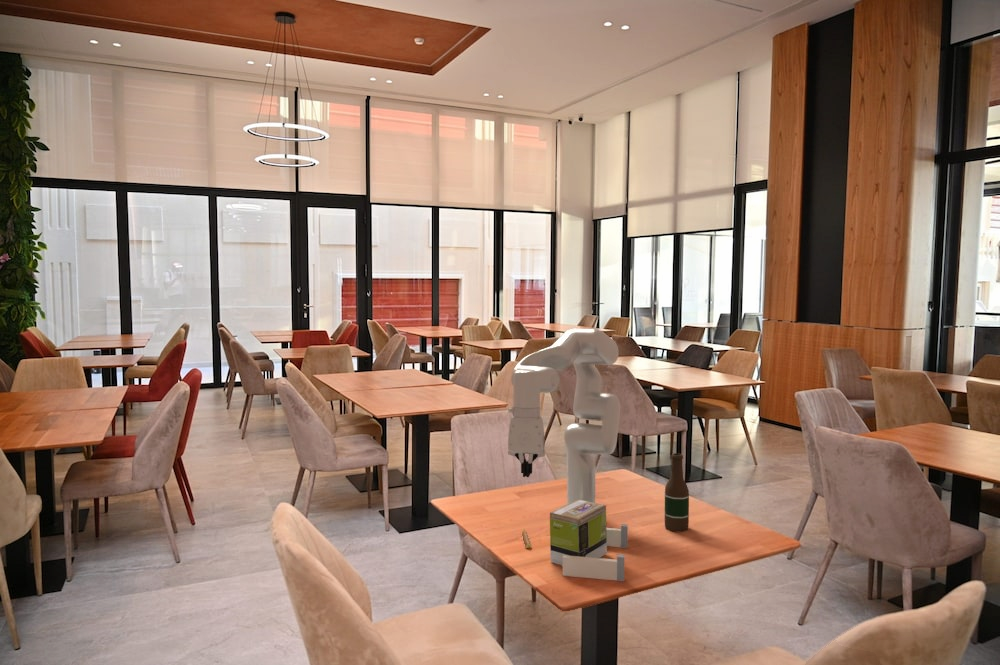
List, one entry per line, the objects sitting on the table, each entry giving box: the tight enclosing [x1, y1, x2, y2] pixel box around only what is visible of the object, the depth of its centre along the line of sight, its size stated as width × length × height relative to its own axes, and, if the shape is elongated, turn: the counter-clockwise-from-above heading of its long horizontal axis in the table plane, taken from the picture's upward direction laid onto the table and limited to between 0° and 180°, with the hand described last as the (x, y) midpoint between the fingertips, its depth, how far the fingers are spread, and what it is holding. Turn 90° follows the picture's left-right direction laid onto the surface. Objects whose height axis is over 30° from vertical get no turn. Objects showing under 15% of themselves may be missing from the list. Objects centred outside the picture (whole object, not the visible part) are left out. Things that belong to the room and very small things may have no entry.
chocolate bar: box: [521, 528, 533, 549], centre depth 204 cm, size 3×12×2 cm, turn 4°
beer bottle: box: [664, 453, 690, 533], centre depth 214 cm, size 8×8×24 cm
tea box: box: [549, 499, 608, 567], centre depth 190 cm, size 15×10×15 cm, turn 141°
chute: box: [562, 523, 629, 582], centre depth 189 cm, size 25×16×6 cm, turn 167°
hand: (526, 475), depth 192 cm, fingers closed
